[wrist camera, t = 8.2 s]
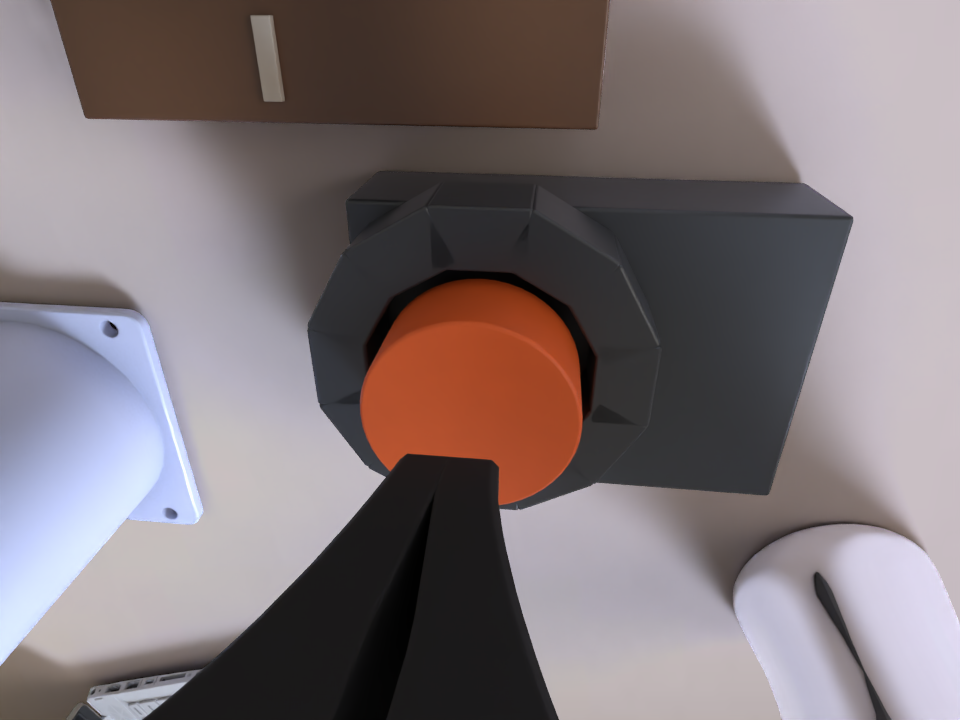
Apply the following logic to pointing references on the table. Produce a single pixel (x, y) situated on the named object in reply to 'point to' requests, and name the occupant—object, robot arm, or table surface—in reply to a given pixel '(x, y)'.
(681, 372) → the button housing
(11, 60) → the table surface
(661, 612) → the table surface
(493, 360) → the orange button
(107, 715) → the laptop
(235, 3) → the dial panel
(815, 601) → the silver metal cup
